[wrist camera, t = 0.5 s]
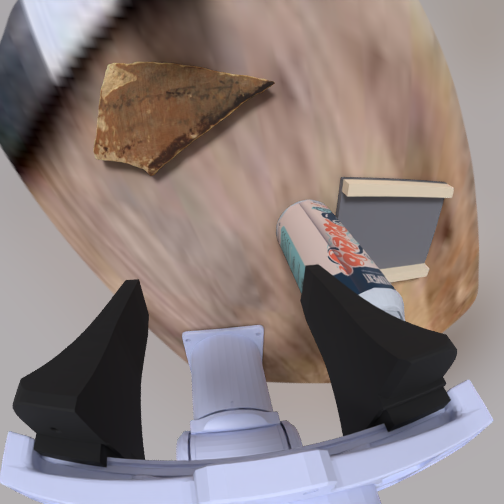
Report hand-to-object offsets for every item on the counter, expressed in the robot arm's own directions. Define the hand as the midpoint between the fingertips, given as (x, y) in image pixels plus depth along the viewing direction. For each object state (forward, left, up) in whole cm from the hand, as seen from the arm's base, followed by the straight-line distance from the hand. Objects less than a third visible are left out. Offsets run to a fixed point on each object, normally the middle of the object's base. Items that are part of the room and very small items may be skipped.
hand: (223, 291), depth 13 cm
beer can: (-3, -7, -10) cm, 13 cm away
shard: (+8, +3, -11) cm, 14 cm away
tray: (-4, -16, -10) cm, 19 cm away
